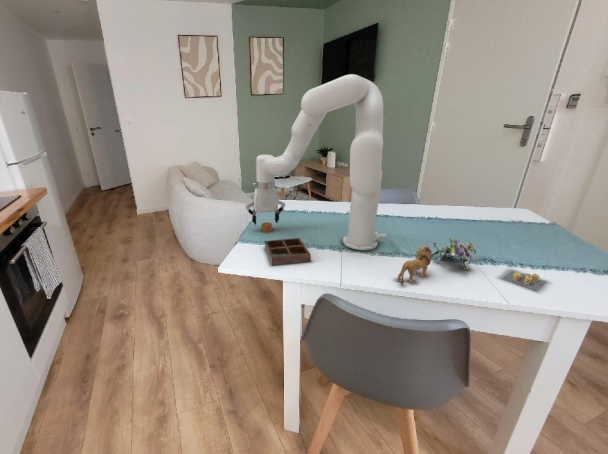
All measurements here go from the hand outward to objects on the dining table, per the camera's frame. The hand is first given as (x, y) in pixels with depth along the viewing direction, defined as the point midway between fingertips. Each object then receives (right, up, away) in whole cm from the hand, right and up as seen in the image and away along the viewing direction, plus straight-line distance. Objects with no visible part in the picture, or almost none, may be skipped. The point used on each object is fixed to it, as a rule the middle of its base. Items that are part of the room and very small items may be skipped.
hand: (265, 222), depth 128 cm
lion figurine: (+44, -18, -37) cm, 60 cm away
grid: (+7, -12, -21) cm, 25 cm away
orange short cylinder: (+1, -3, +1) cm, 4 cm away
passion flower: (+59, -15, -32) cm, 69 cm away
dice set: (+75, -18, -42) cm, 87 cm away
